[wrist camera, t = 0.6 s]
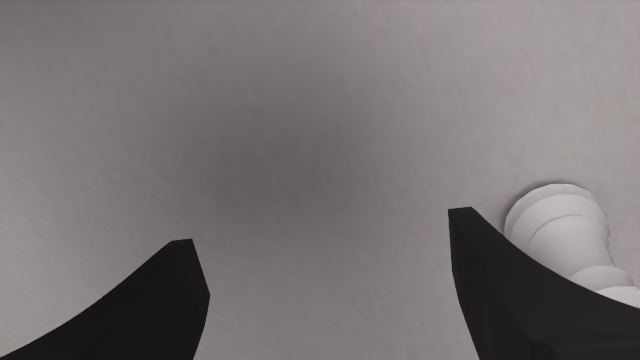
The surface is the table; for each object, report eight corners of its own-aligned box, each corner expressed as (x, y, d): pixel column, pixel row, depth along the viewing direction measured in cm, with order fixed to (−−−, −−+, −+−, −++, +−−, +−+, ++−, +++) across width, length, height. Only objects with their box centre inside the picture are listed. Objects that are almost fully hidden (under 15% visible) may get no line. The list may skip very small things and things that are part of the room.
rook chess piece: (614, 188, 25) (720, 303, 18) (574, 265, 27) (655, 396, 20) (521, 169, 25) (590, 278, 18) (488, 249, 27) (537, 375, 20)
